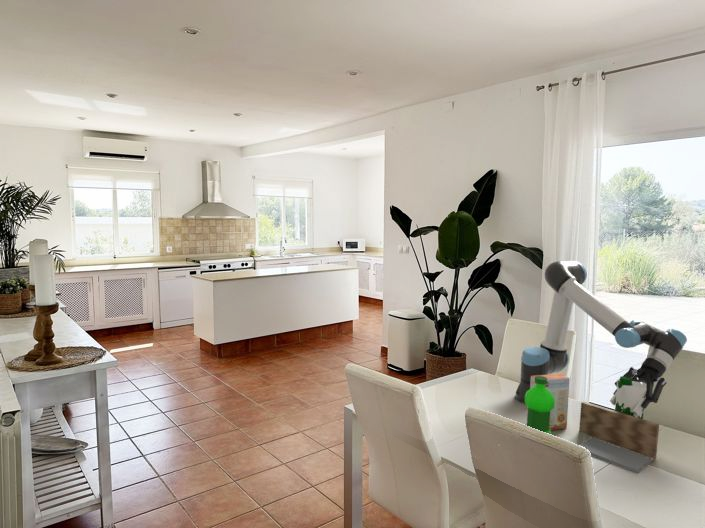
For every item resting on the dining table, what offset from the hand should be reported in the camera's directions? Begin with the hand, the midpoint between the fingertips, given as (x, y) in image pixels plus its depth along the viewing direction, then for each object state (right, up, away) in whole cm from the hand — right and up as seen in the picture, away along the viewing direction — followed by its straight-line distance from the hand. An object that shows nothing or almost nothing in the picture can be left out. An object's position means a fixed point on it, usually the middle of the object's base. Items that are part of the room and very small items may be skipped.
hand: (623, 407), depth 178 cm
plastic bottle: (-35, -12, -5) cm, 37 cm away
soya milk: (+3, -9, +2) cm, 10 cm away
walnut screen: (-5, -12, -3) cm, 14 cm away
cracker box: (-25, -11, +10) cm, 29 cm away
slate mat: (-10, -13, -12) cm, 20 cm away
